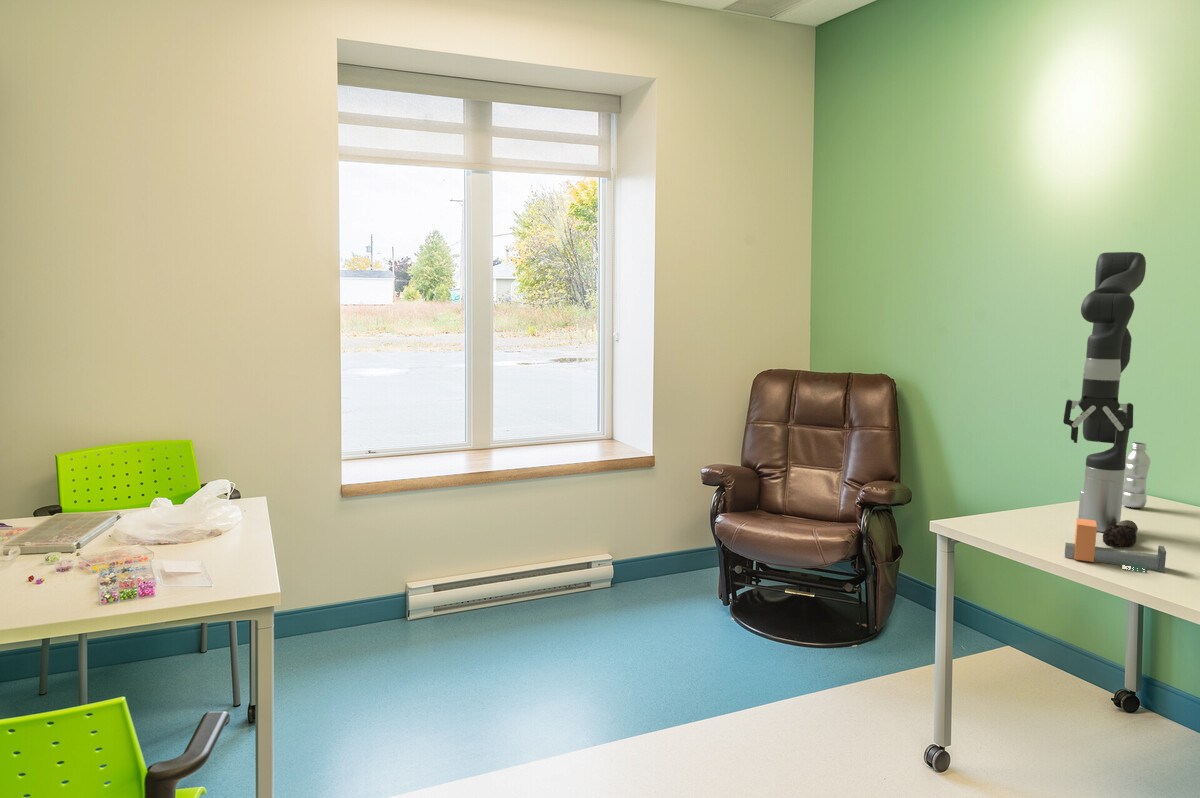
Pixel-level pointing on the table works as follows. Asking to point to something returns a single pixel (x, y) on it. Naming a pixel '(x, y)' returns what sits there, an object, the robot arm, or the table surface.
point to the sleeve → (1085, 539)
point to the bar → (1125, 557)
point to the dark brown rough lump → (1121, 534)
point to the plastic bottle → (1136, 476)
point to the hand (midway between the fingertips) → (1095, 444)
